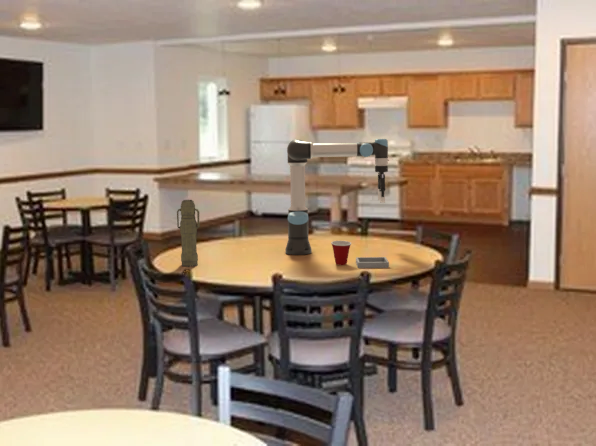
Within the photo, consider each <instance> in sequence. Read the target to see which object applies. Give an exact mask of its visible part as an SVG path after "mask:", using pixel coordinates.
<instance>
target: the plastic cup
mask: <svg viewBox="0 0 596 446" xmlns="http://www.w3.org/2000/svg"><path fill="white" fill-rule="evenodd" d="M351 245H352V242H350V241H347V240H333V241H331V246H332V251H333V257H334V260H335V261H334V262H335V265H336V266H347V263H348V258H349V253H350V248H351Z"/></svg>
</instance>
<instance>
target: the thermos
mask: <svg viewBox="0 0 596 446" xmlns="http://www.w3.org/2000/svg"><path fill="white" fill-rule="evenodd" d="M179 212H180V215H181V217H179ZM196 212H197V213H196ZM196 216H197V217H196ZM196 218H197V220H196ZM179 219H180V220H179ZM179 221H180V222H179ZM176 225H177V229H179V230H180V232H179V233H180V236H181V254H180V261H181V266H182V267H186V268H187V267H188V268H189V267H197V266H198V264H199V263H198V261H199V254H198V252H197V233H198V229H199V228H200V210H199V209H198V208H196V204H195V202H194V200H192V199H183V200H181V203H180V208H178V209H177V211H176Z"/></svg>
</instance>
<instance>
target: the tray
mask: <svg viewBox="0 0 596 446" xmlns="http://www.w3.org/2000/svg"><path fill="white" fill-rule="evenodd" d="M355 264H356V267H357V268H358V269H383V268H384V269H389V268H390V262H389V261H388V258H387V257H386V256H378V257H377V256H373V257H372V256H370V257H369V256H367V257H366V256H362V257H357V256H356V257H355ZM388 267H389V268H388Z"/></svg>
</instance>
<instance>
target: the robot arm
mask: <svg viewBox="0 0 596 446" xmlns="http://www.w3.org/2000/svg"><path fill="white" fill-rule="evenodd" d="M286 152H287V154H286V155H287V164H288V165H289V166H290V167H289V169H290V171H289V173H290V175H289V176H290V177H289V178H290V183H289V184H290V207H288V209H287V211H288V215H287V239H288V240H287V242H286V243H287V244H286V247H285V251H284V253H285V254H286V255H291V254H292V255H291V256H293V255H295V256H296V255H297V256H305V255H310V254H312V251H313V250H312V247H311V243H310V241H309V208H308V207H306V165H307V164H308V160H312V159H313V158H328V157H329V158H333V157H334V158H335V157H336V158H339V157H340V158H344V157H345V158H346V157H348V158H349V157H364V158H366V157H367V158H368V157H370V156H374V172H375V173H377V201H379V202H380V203H382V204H384V203H386V173H387V172H389V168H388V167H389V166H388V163H389V161H390V160H389V142H388V139H387V138H375V140H374V141H373V142H359V141H358V142H355V143H354V142H353V143H352V142H351V143H350V142H349V143H346V142H345V143H342V142H341V143H313V142H311V141H304V140H301V139H293V140H292V141H290V142H289V143H288V144H287V148H286Z"/></svg>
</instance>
